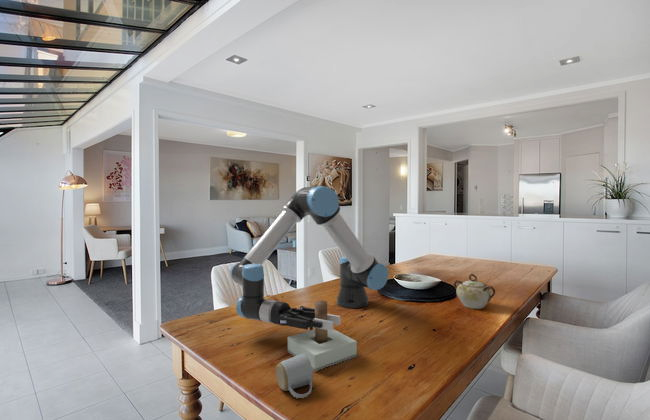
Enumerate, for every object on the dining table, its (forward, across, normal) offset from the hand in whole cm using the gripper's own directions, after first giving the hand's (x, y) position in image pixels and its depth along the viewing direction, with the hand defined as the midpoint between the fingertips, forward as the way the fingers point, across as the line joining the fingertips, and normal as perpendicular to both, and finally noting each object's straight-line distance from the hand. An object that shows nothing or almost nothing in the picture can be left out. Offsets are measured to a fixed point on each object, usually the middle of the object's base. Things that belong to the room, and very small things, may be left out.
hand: (336, 323), depth 104 cm
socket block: (-5, 0, -11) cm, 12 cm away
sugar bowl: (+35, -74, -11) cm, 82 cm away
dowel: (-5, 0, -10) cm, 11 cm away
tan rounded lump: (-51, -35, -12) cm, 63 cm away
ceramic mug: (-2, +20, -11) cm, 23 cm away
